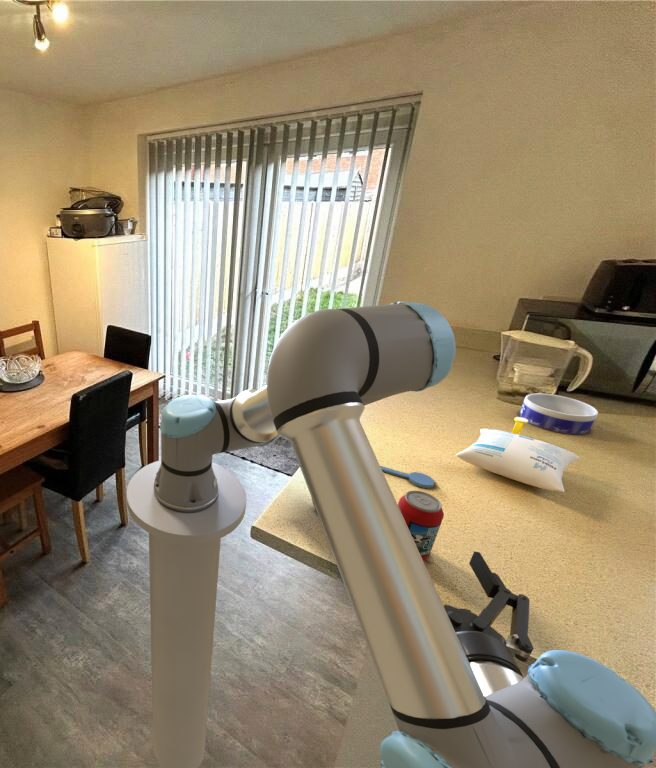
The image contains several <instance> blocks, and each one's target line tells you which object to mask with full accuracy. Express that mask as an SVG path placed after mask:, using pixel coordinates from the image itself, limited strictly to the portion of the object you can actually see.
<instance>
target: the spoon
mask: <svg viewBox="0 0 656 768" xmlns="http://www.w3.org/2000/svg"><path fill="white" fill-rule="evenodd" d="M380 467H381V469H382V471H383V473H386V474H390V475H392V476H396V477H399V478H403V479H406V480H408V481H409V482H410V483H411V484H412V485H414V486H416V487H419V488H423V489H432V488H433V487H434V485H435V480H434V478H432V477H431V476H430V475H428V474H427V473H426V474H425V473H422V472H419V471H418V472H417V471H413V472H410V473H406V472H402V471H400V470H395V469H393V468H389V467H386V466H382V465H380Z"/></svg>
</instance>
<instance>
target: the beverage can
mask: <svg viewBox="0 0 656 768" xmlns="http://www.w3.org/2000/svg"><path fill="white" fill-rule="evenodd" d="M397 504H398V507H399V509H400V511H401V513H402V515H403V518H404V520H405V522H406V524H407V527H408V529H409V531H410V533H411V535H412V538H413V540H414V542H415V544H416V546H417V549H418V551H419V553H420V555H421V557H422V560H423V562H425V561H427V560H428V559H429V558H430V554H431V553H432V549H433V547H434V544H435V541H436V539H437V536H438V533H439V530H440V528H441V525H442V523H443V522H442V521H443V519H444V516H445V515H444V514H445V513H444V511H443V508H442V505H443V504H442V503H441V501H440V500H439V499H438V498H437V497H436V496H434V495H432V494H430V493H428V492H425V491H422V490H409V491H407V492H406V493H405V494H404V495H402V496H401V497H400V498H399V500H398V502H397Z"/></svg>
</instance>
